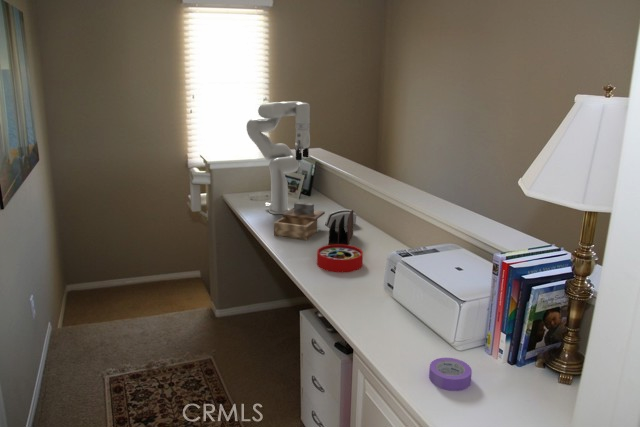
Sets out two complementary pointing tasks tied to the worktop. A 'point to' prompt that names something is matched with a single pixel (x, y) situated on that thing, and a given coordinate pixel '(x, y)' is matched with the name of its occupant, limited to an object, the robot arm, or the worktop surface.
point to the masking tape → (450, 381)
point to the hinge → (338, 216)
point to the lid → (304, 212)
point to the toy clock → (339, 258)
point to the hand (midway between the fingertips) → (302, 158)
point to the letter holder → (341, 231)
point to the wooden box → (295, 228)
